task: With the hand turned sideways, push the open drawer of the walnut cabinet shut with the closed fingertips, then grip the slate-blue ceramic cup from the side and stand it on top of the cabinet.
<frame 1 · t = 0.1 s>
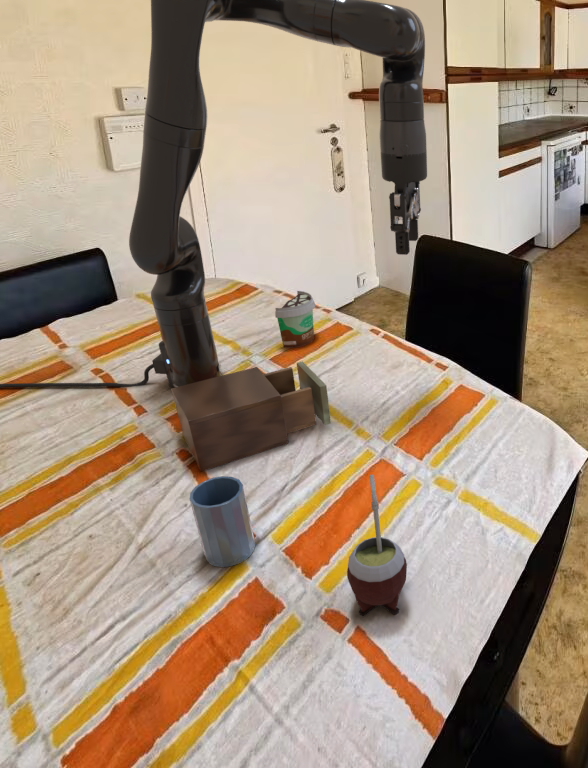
hand: (407, 246, 109), 29 cm above the table, tool pointing down, fingers open, 8 cm apart
cabinet: (235, 439, 108), on the table
food container: (304, 341, 145), on the table
mate gourd: (379, 598, 77), on the table
drawer: (283, 401, 111), point 5 cm above the table, slide at 7.0 cm
cup: (230, 550, 85), on the table
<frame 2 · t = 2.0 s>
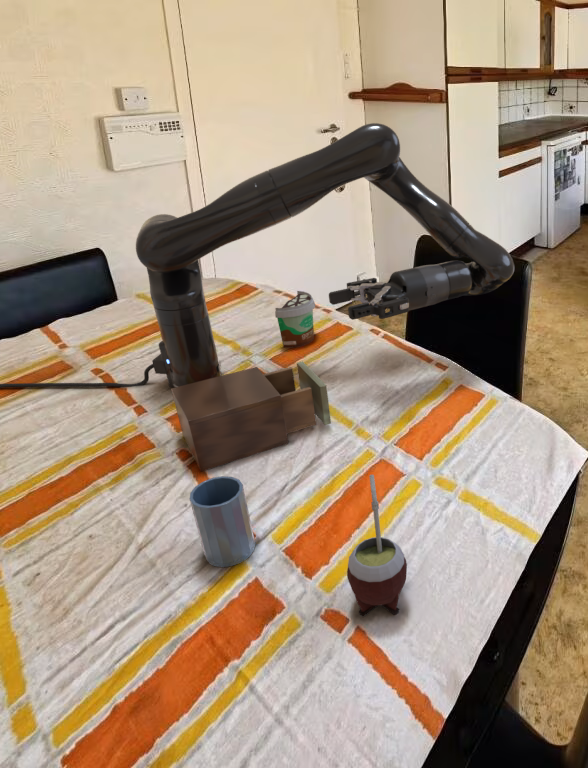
hand: (339, 306, 109), 20 cm above the table, tool horizontal, fingers open, 8 cm apart
nothing on the table moved.
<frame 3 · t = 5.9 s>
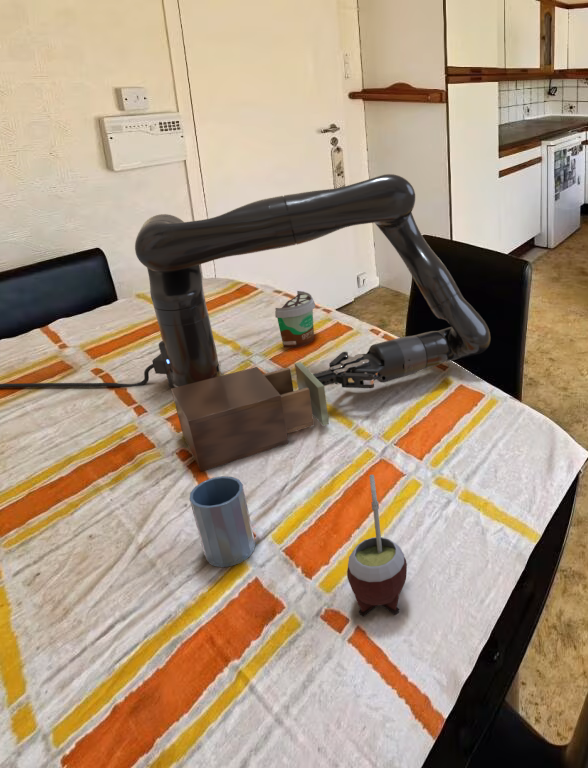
hand: (313, 381, 112), 7 cm above the table, tool horizontal, fingers closed
drawer: (281, 401, 110), point 5 cm above the table, slide at 6.6 cm, touching gripper
everything else where it was.
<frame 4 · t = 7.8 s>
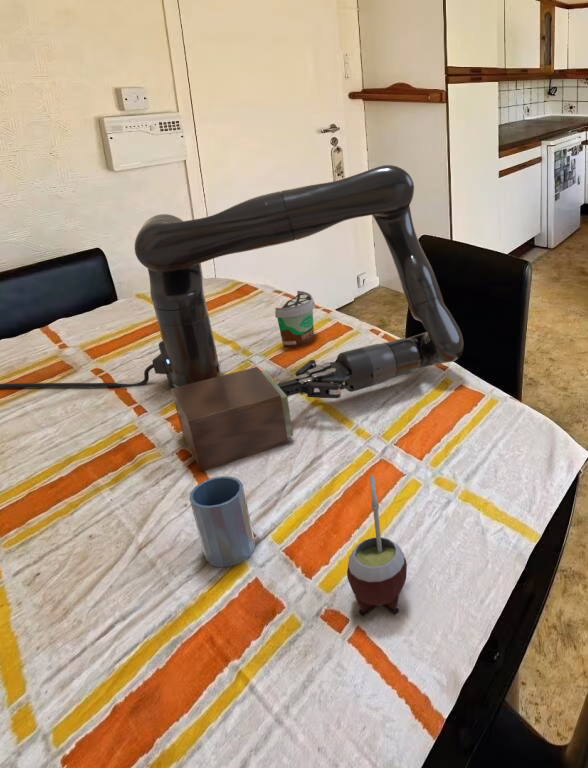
hand: (277, 391, 109), 7 cm above the table, tool horizontal, fingers closed
drawer: (244, 412, 107), point 5 cm above the table, slide at 0.0 cm, touching gripper
everything else where it was.
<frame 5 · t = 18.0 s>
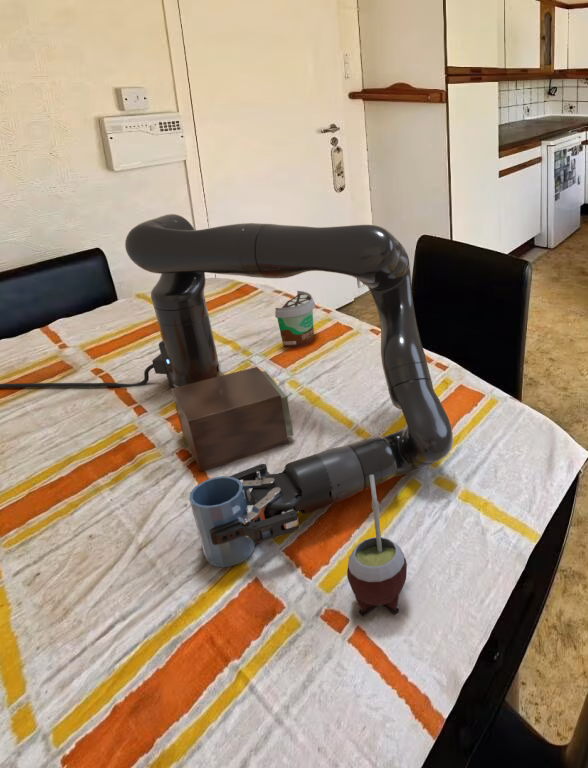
hand: (204, 522, 81), 6 cm above the table, tool horizontal, fingers closed on cup, 6 cm apart
drawer: (244, 412, 107), point 5 cm above the table, slide at 0.0 cm
cup: (230, 550, 84), on the table, touching gripper
everything else where it was.
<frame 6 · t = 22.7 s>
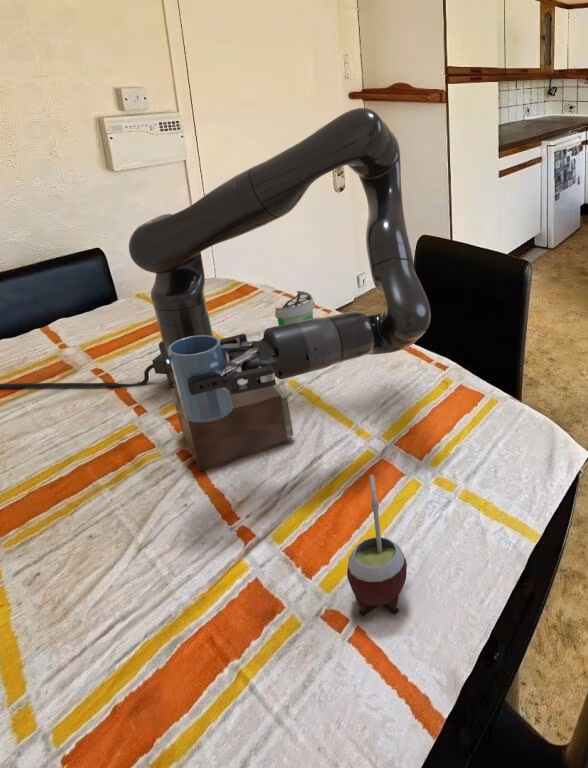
hand: (182, 376, 82), 22 cm above the table, tool horizontal, fingers closed on cup, 6 cm apart
cup: (209, 410, 86), point 16 cm above the table, touching gripper
everything else where it was.
when the fingers open (16 cm above the table, at t = 27.2 s): cup stays where it is, resting on cabinet.
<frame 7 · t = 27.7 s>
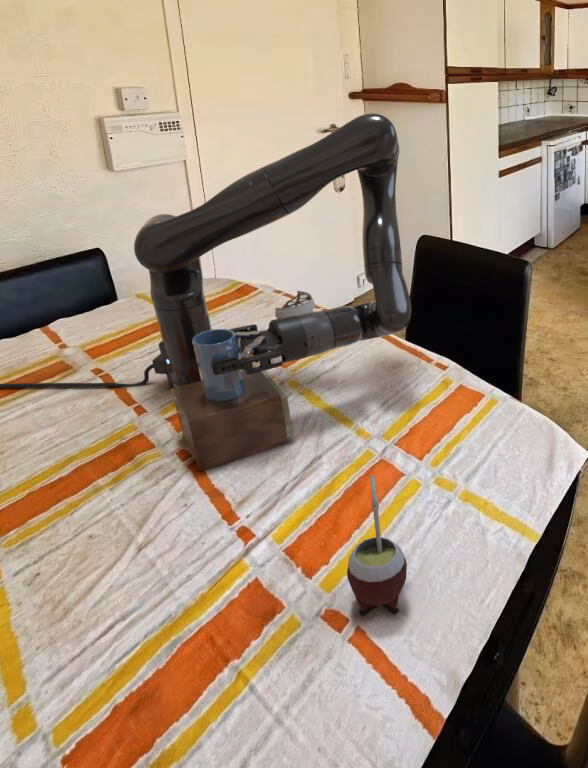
hand: (205, 358, 100), 16 cm above the table, tool horizontal, fingers open, 8 cm apart
cup: (225, 391, 104), point 10 cm above the table, touching cabinet
everything else where it was.
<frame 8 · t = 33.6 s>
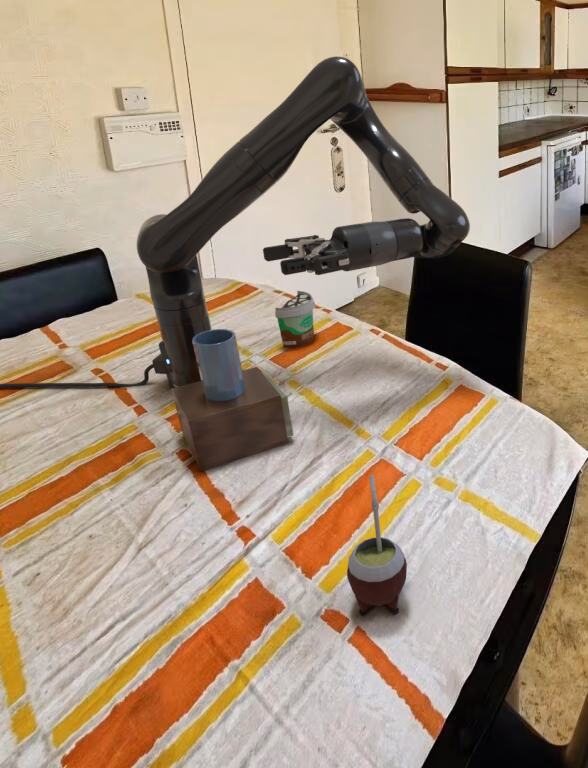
hand: (272, 261, 100), 30 cm above the table, tool horizontal, fingers open, 8 cm apart
nothing on the table moved.
at the end: drawer slide at 0.0 cm; cup inside the target area on the cabinet (0.0 cm from its centre), point 9.6 cm above the cabinet's base; cup tilted 0° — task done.
